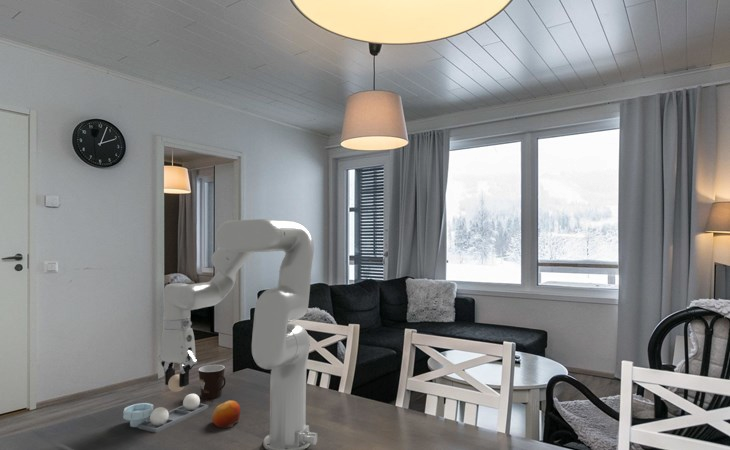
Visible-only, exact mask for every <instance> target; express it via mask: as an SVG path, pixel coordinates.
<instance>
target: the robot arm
mask: <svg viewBox="0 0 730 450" xmlns="http://www.w3.org/2000/svg"><path fill="white" fill-rule="evenodd" d="M214 236H215V238H214V239H215V243H216V245H217V249H216V250H215V251H214V252H213V253H212V256H211V258H210V259H211V264H212V265H213V267H214V268H215V269H216V270H217V272H216V273H215V275H213V277H211V279H210V280H209V281H207V282H205V281H204V282H195V283H190V284H187V283H183V282H180V283H178V282H177V283H169V284H166V285H165V286H164V288H163V329H162V332H161V338H160V340H161V341H160V350H159V351H160V352H159V353H160V354H159V355H158V357H157V360H158V361H159V363H160V364H161V366H162V367H163V371H164V372H165V373H164V382H165V383H164V384H165V386H168V382H169V379H170V378H171V377H172V376H174V375H176V369H175V368H174V367H175V364H179V369H180V373H179V386H180V387H184V386H185V387H186V386H188V385H189V384H190V379H189V378H190V372H191V370H192V368H193V367H194V366H196V365H197V364H198V360H197V359H196V341H195V335H194V331H193V328H191V326H192V324H193V322H192V321H191V311H194V310H199V309H203V308H208V307H213V306H216V305H217V304H219V303H220V302H222V301H223V300H224V299H225V298H226V297H227V295H228V294H229V293H230V292H231V291H232V290H233V288H234V286H235V283H236V280H237V273H238V271H239V270H240V269H241V268H242V266H244V264H245V263H246V262H247V261H248V260H249V259H250V258H251V257H252V255H253V254H254V253H255V252H256V253H258V252H260V253H268V252H284V257H283V258H282V261H281V264H280V266H279V274H278V284H277V287H270V288H268V289H266V290H264V291H263V292H262V293H261V294H260V296H259V297H258V299H257V301H256V304H255V307H254V313H253V324H252V325H253V327H252V336H251V337H252V338H251V355H252V357H253V360H254V363H256V365H257V367H259V368H261V369H264V370H270V378H269V380H270V381H269V386H270V387H269V434H268V435H266V436H265V437H264V439H263V447H264V449H265V450H306V449H307V448H308V447H309V446H310V445H315V446H316V445H317V442H318V433H317V432H311V431H310V425H308V424H306V423H307V422H306V419H307V418H306V417H307V416H306V412H307V411H306V408H307V407H306V405H307V404H306V403H307V398H306V397H307V395H306V394H307V368H308V367H307V366H308V359H309V352H310V347H311V344H310V343H311V341H310V336H309V334H308V332H307V330H306V328H304V327H303V326H302V325H300V324H297V323H290V322H294V321H296V320H300V319H301V318H303V317H304V316H305V315H306V314H307V312H308V309H309V303H310V302H309V301H310V292H311V280H312V266H313V260H314V252H315V251H314V250H315V246H314V240H313V237H312V235H311V233H310V232H309V230H308V229H307V228H306V227H305V226H304V225H302V224H301V223H298V222H296V221H292V220H287V219H271V218H270V219H269V218H259V219H239V220H235V219H234V220H226V221H225V222H223V223H221V224H220V225H219V226H218V227H217V229H216V232H215V235H214ZM185 387H184V388H185Z"/></svg>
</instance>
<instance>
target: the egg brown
mask: <svg viewBox="0 0 730 450" xmlns="http://www.w3.org/2000/svg"><path fill="white" fill-rule="evenodd" d="M179 374H180V373H179ZM179 374H176V373H175V375H174V376H172V377H171V378H170V379H169V382H168V385H167V386H168V388H169V390H170V391H171V392H174V393H176V392H178V393H179V392H180V391H182V390H183V389H185V387H186V386H184V387H180V386H179Z"/></svg>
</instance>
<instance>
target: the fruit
mask: <svg viewBox="0 0 730 450" xmlns="http://www.w3.org/2000/svg"><path fill="white" fill-rule="evenodd" d="M240 417H241V406H240V404H239V403H238V402H237V401H235V400H226V401H224V402H223V403H220V404H219V405H217V406H216V407H215V408H214V411H213V413H212V418H211V419H212V420H211V421H212V423H213V424H214V425H215V426H216V427H217V428H220V429H221V428H222V429H225V428H232V427H233V426H234V425H235V424H237V423H239V421H240Z"/></svg>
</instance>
